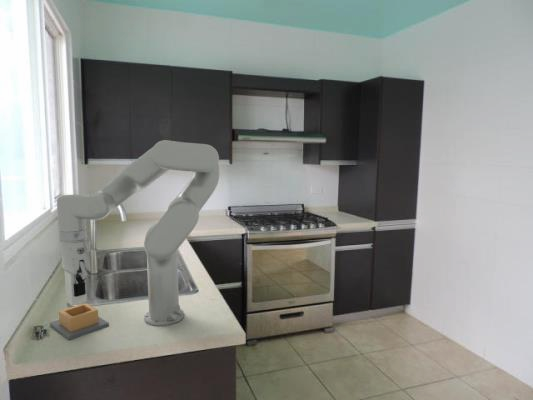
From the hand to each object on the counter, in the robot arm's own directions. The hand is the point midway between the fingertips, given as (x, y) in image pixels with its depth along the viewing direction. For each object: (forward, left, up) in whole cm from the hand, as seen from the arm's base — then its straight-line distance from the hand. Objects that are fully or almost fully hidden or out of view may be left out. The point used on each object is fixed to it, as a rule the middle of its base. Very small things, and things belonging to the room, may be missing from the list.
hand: (76, 292), depth 118 cm
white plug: (0, 0, -3) cm, 3 cm away
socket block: (0, 0, -11) cm, 11 cm away
